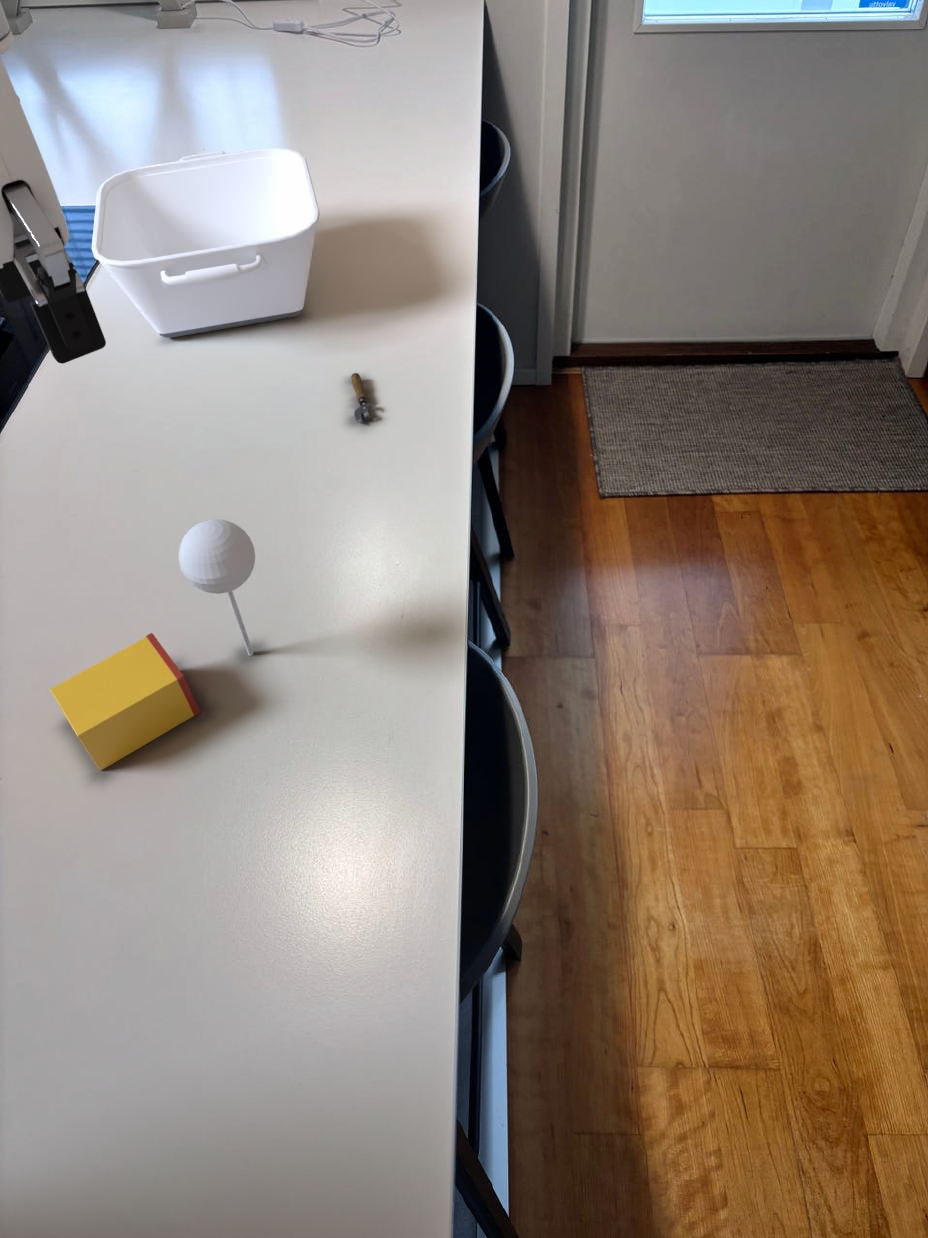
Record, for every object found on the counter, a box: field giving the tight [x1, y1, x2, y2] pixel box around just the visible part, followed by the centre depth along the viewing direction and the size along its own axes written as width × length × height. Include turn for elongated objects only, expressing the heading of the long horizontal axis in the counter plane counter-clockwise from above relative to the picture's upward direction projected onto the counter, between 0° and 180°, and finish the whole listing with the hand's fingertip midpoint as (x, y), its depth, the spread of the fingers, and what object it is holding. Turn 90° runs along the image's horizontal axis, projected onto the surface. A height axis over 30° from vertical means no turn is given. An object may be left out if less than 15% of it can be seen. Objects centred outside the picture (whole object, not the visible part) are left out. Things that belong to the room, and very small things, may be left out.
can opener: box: [350, 372, 375, 425], centre depth 108 cm, size 9×2×1 cm, turn 7°
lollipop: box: [178, 518, 256, 657], centre depth 79 cm, size 6×6×15 cm
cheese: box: [49, 632, 201, 771], centre depth 78 cm, size 9×6×5 cm
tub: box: [91, 147, 321, 339], centre depth 121 cm, size 34×27×13 cm
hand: (54, 322), depth 61 cm, fingers open, 9 cm apart
